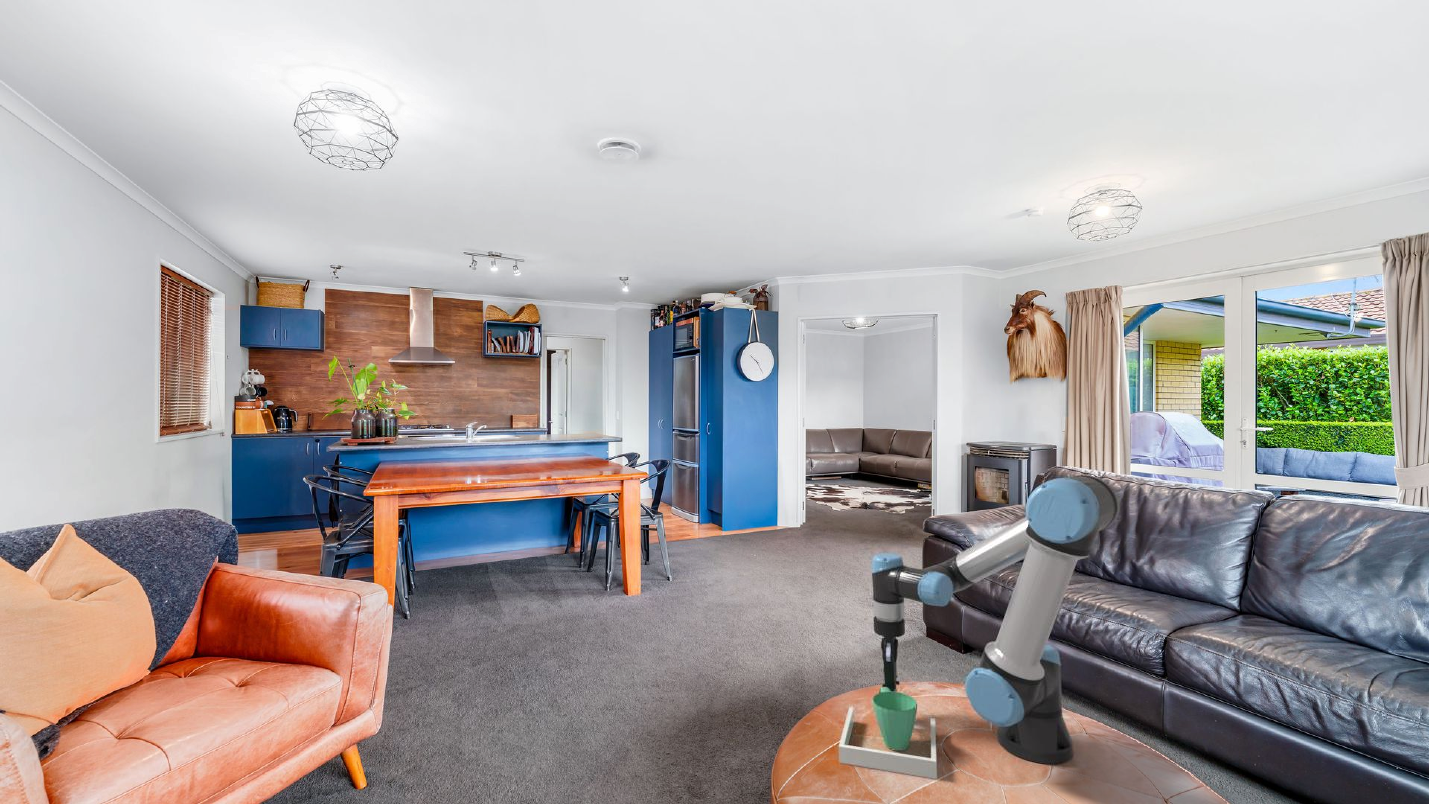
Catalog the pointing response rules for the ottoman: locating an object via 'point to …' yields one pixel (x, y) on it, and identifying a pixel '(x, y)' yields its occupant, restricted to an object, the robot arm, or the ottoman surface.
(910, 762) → the corral
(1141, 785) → the ottoman surface
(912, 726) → the mug
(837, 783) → the ottoman surface
